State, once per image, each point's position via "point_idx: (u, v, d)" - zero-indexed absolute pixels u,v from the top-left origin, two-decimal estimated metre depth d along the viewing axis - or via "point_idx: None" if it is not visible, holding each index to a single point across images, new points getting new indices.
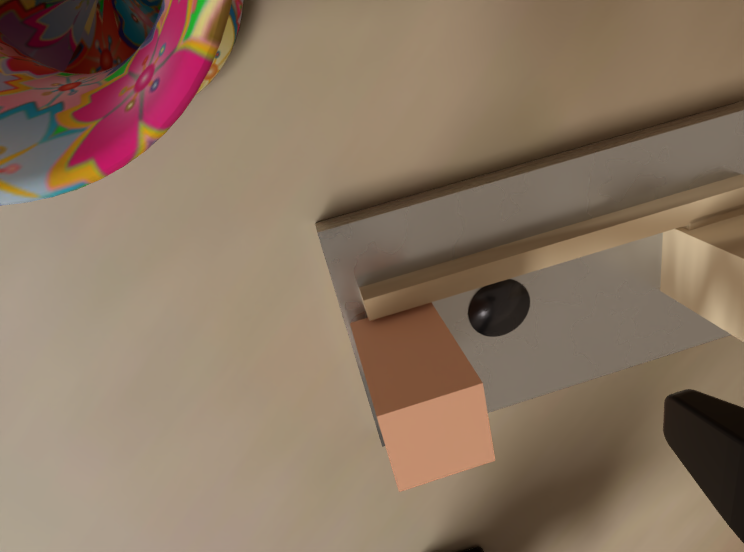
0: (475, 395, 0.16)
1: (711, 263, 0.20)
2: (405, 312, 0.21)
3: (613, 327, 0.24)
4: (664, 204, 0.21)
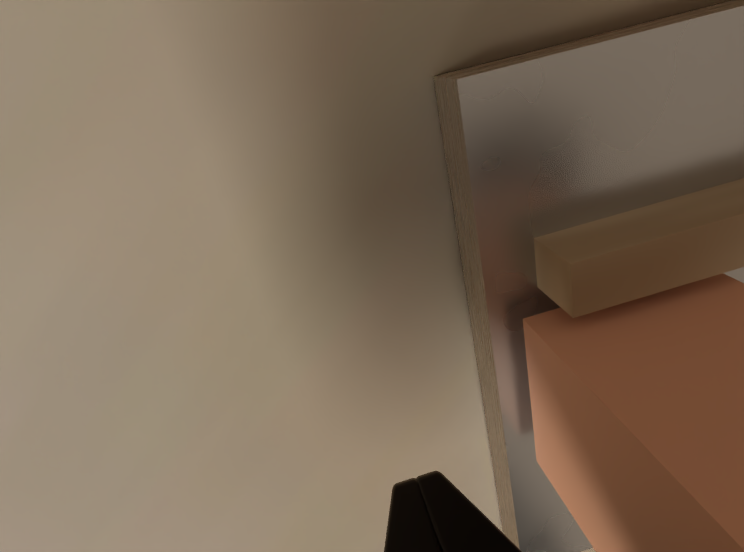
0: None
1: None
2: (665, 294, 0.08)
3: None
4: None
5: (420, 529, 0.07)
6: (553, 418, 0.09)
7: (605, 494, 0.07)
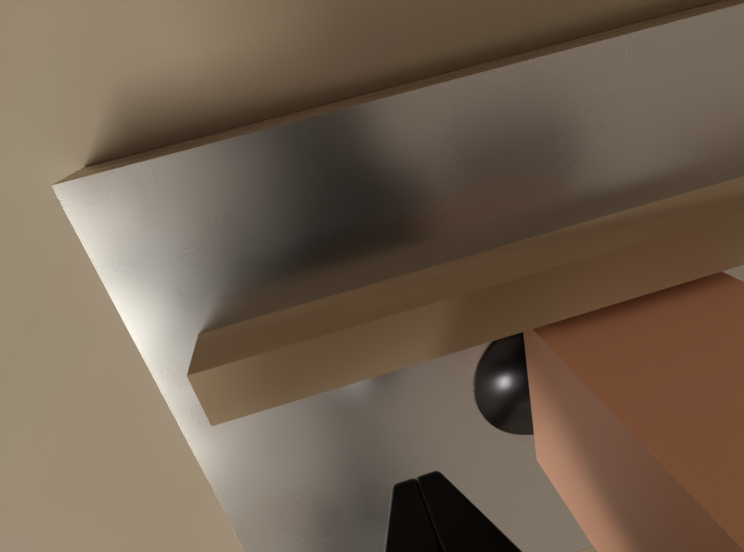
0: None
1: None
2: (663, 293, 0.08)
3: None
4: None
5: (420, 529, 0.07)
6: (552, 417, 0.09)
7: (604, 493, 0.07)
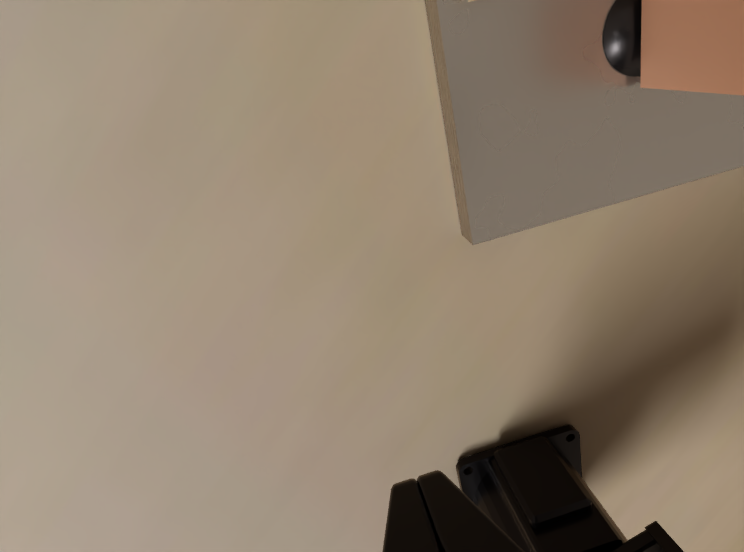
0: None
1: None
2: None
3: None
4: None
5: (418, 529, 0.07)
6: (661, 22, 0.15)
7: (698, 26, 0.14)
